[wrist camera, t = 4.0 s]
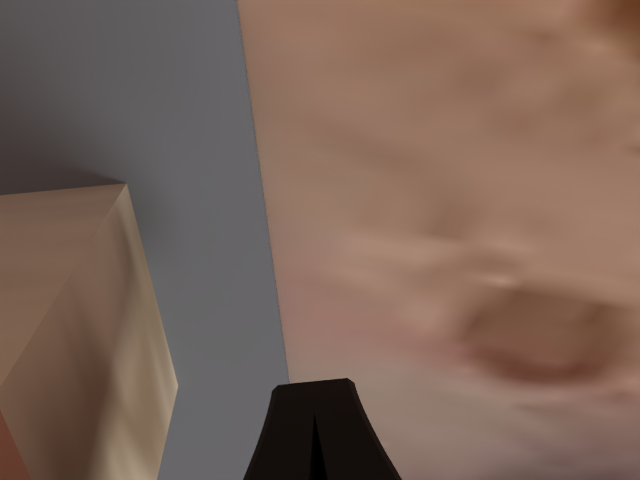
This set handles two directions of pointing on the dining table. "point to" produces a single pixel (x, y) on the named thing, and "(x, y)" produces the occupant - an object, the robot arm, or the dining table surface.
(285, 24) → the dining table surface
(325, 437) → the robot arm
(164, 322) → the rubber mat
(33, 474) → the birch block
